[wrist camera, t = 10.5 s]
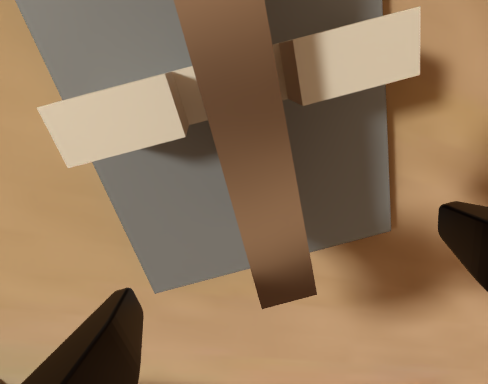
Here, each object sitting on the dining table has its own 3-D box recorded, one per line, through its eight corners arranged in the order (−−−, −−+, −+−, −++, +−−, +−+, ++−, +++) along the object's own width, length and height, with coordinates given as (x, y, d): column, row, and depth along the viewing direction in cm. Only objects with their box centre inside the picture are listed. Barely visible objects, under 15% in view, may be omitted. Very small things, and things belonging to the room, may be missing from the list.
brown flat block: (280, 215, 16) (316, 294, 11) (243, 224, 16) (261, 309, 11) (205, -133, 10) (202, -347, 5) (149, -118, 10) (83, -317, 5)
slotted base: (382, 222, 18) (439, 276, 14) (157, 281, 18) (140, 355, 14) (354, -286, 10) (477, -575, 5) (-55, -178, 10) (-277, -379, 5)
